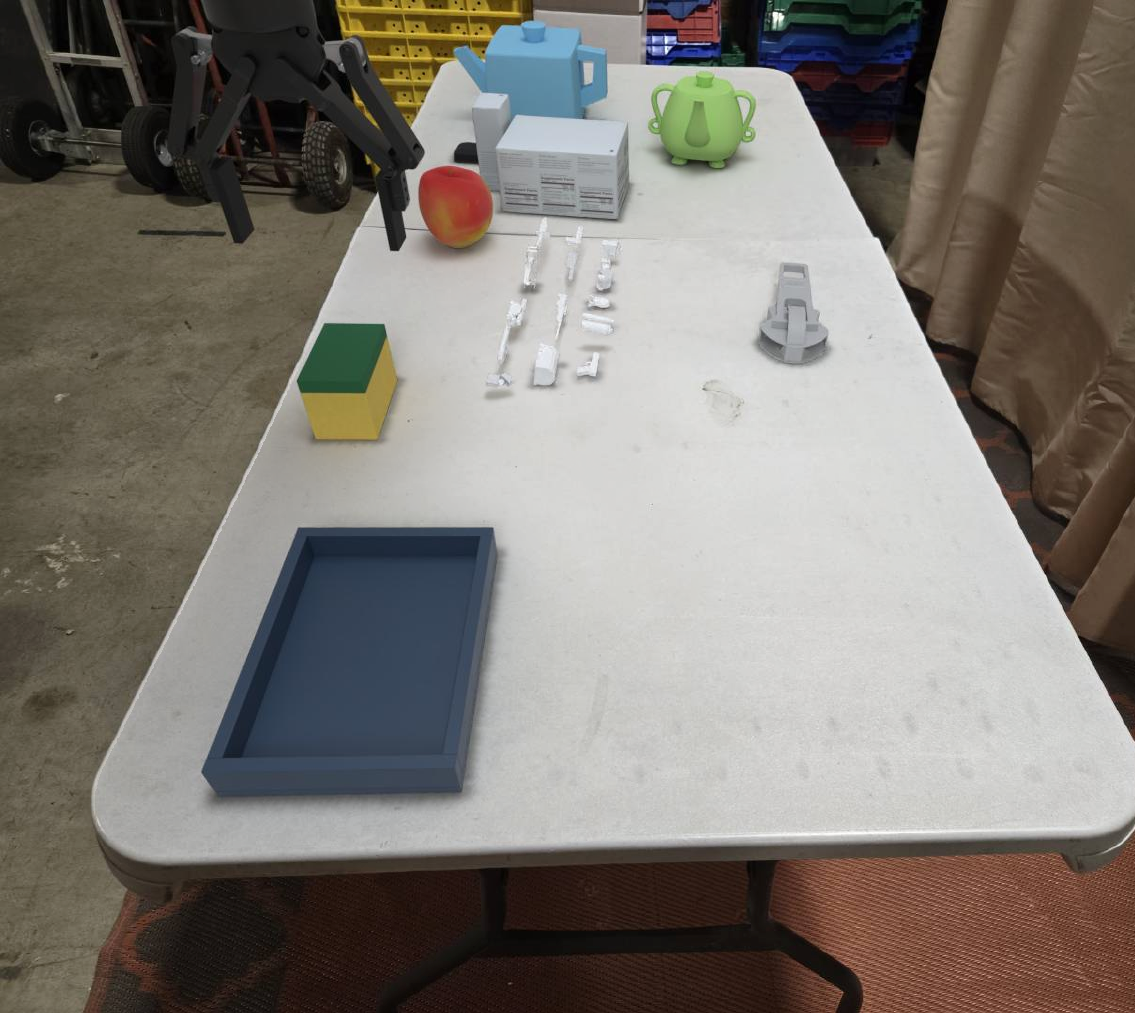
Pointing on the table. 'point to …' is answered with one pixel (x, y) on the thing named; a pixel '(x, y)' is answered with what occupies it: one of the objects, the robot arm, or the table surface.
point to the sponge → (348, 381)
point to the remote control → (466, 153)
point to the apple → (455, 205)
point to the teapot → (702, 119)
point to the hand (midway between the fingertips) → (321, 240)
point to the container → (539, 70)
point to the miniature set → (548, 353)
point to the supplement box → (563, 166)
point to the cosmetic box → (490, 132)
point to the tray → (361, 666)
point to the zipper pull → (793, 320)
